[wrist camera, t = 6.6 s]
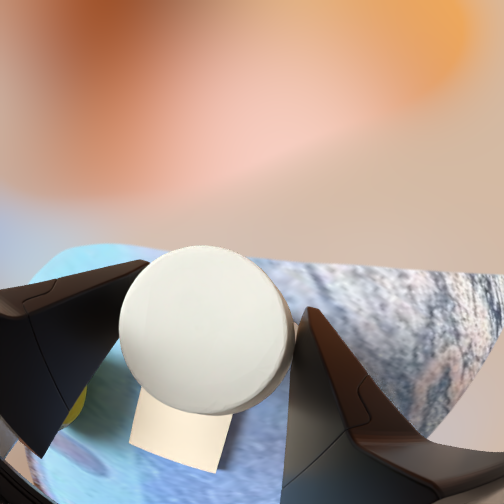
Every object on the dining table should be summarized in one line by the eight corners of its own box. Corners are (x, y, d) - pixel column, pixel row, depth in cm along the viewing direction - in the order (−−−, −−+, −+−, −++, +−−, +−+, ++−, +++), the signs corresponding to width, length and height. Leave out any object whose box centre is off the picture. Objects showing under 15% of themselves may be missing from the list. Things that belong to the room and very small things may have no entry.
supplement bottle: (167, 372, 14) (69, 385, 5) (195, 286, 16) (138, 198, 7) (259, 401, 14) (280, 467, 5) (285, 311, 16) (337, 250, 7)
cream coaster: (216, 468, 16) (215, 473, 15) (133, 439, 17) (128, 443, 16) (238, 392, 19) (238, 394, 18) (151, 365, 19) (146, 365, 18)
